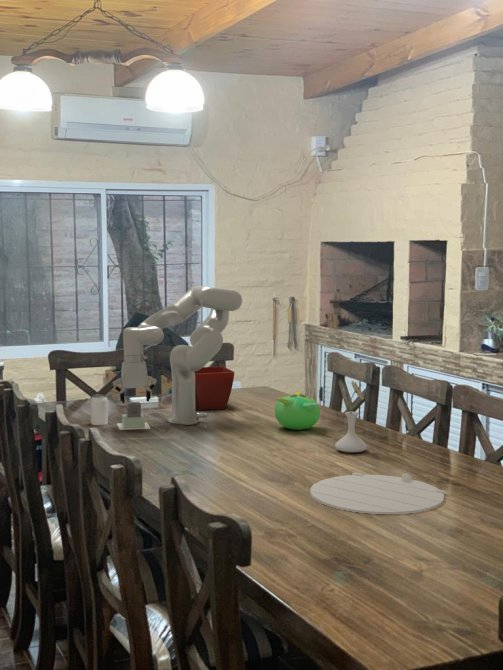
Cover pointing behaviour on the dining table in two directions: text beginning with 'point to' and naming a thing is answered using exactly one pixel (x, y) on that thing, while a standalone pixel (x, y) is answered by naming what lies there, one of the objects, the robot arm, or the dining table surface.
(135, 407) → the dice cube
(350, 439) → the flower in vase
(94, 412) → the can
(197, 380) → the plant pot
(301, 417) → the toy bird
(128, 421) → the sage brick
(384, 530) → the dining table surface
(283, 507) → the dining table surface
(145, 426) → the baseplate
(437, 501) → the lazy susan
